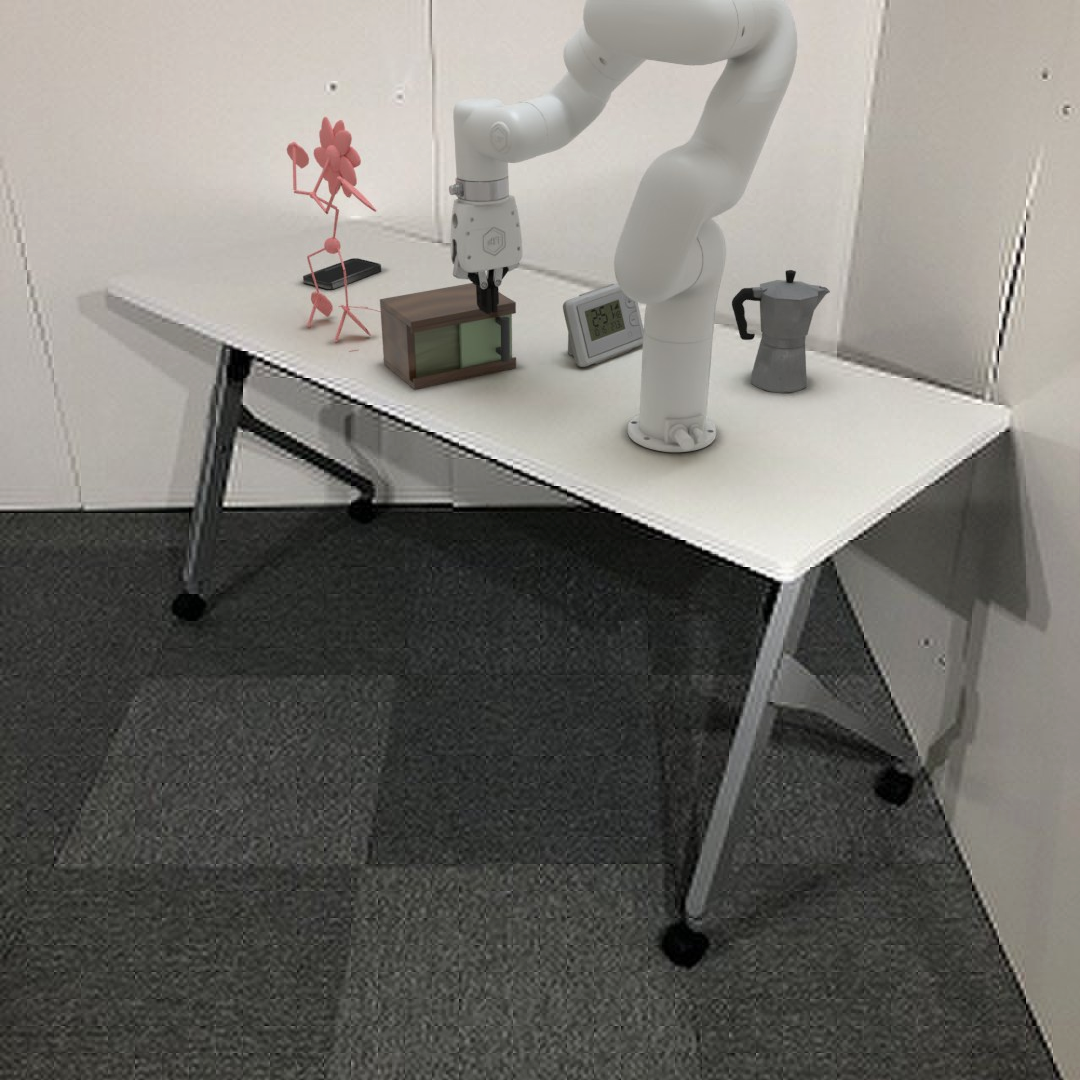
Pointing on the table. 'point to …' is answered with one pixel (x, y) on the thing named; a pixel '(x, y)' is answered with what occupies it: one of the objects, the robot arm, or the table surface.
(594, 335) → the digital clock
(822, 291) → the coffeepot
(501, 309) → the cabinet
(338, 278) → the phone
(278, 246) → the table surface
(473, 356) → the sliding door
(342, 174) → the figurine
